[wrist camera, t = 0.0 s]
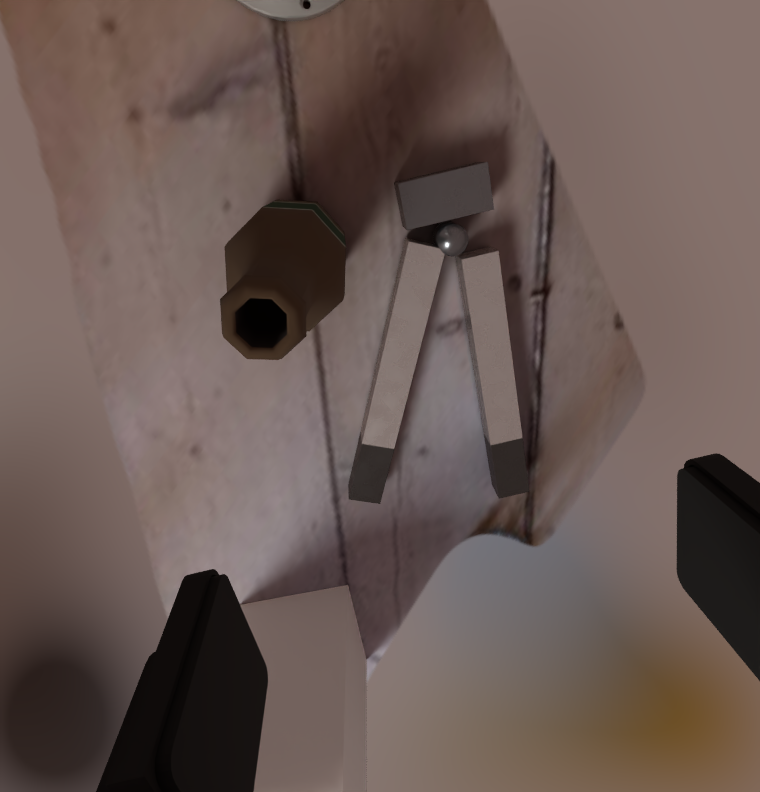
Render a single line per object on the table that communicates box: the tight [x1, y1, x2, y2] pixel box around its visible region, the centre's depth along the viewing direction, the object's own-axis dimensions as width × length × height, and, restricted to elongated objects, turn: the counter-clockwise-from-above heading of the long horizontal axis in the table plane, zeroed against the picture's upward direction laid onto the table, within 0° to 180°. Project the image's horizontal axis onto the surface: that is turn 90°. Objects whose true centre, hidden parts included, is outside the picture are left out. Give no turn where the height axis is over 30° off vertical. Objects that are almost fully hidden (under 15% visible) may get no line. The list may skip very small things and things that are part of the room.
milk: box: [240, 585, 367, 792], centre depth 48 cm, size 12×12×26 cm
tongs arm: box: [348, 222, 468, 504], centre depth 47 cm, size 26×5×2 cm, turn 167°
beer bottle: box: [220, 200, 346, 360], centre depth 33 cm, size 8×8×24 cm
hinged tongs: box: [394, 162, 529, 498], centre depth 47 cm, size 30×7×3 cm, turn 12°
